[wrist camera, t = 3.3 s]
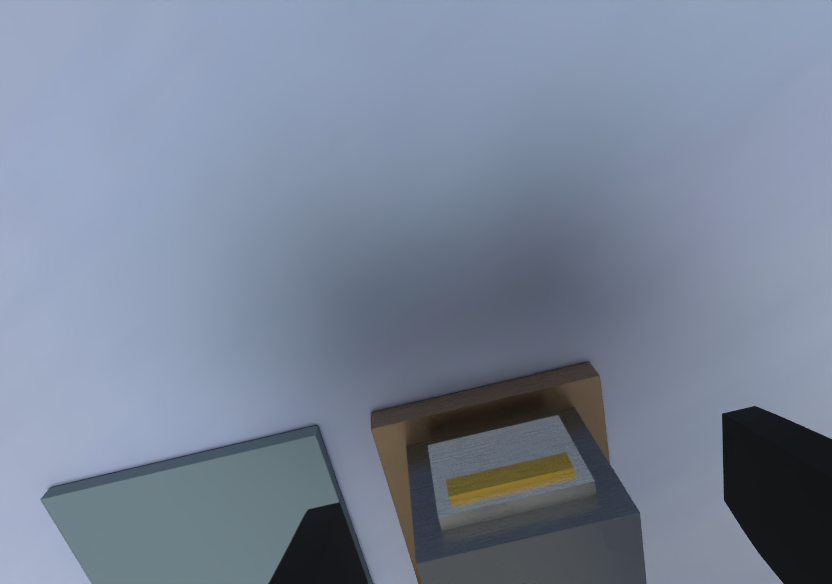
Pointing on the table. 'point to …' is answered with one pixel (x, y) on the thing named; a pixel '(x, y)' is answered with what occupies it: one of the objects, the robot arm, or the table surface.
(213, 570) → the mat
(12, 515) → the table surface
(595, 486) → the mounted unit
